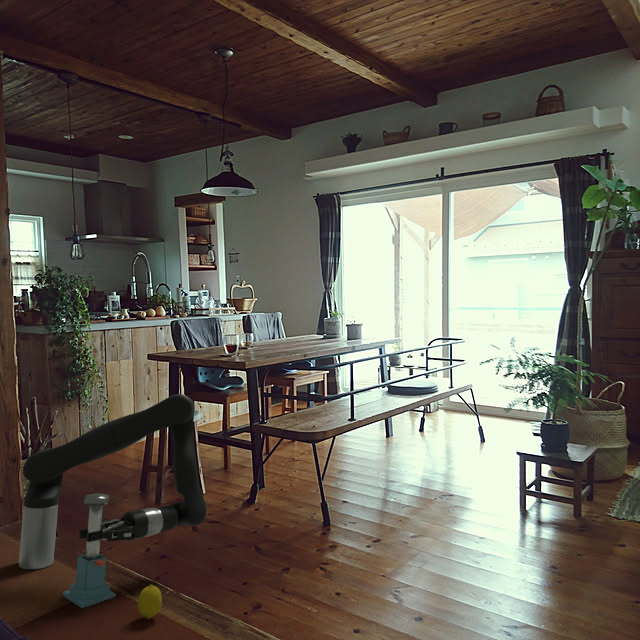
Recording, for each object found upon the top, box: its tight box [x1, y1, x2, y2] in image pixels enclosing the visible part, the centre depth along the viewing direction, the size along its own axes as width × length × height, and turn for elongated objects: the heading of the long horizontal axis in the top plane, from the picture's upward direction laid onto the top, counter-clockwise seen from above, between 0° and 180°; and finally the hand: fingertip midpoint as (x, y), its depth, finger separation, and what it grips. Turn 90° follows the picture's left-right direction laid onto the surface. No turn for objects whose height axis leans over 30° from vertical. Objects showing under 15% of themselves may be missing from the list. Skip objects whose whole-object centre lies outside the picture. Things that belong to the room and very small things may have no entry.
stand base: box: [62, 552, 117, 609], centre depth 146 cm, size 10×9×10 cm
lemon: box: [137, 584, 163, 620], centre depth 136 cm, size 6×6×8 cm
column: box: [83, 493, 110, 561], centre depth 147 cm, size 6×6×24 cm
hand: (83, 535), depth 145 cm, fingers closed on column, 3 cm apart
